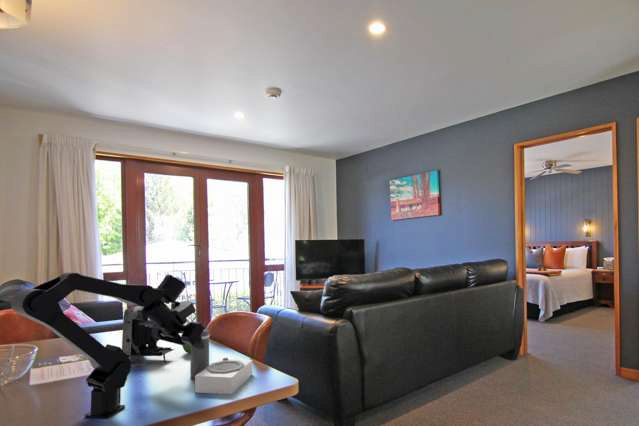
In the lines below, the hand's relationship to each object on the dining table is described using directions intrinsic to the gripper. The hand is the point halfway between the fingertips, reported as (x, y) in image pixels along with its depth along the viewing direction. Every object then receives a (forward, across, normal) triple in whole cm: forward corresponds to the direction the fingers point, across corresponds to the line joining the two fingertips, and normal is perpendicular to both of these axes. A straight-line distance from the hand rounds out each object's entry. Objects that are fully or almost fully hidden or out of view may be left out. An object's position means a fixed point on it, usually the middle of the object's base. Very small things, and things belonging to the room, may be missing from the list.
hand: (193, 345), depth 117 cm
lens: (+9, 0, +6) cm, 10 cm away
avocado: (+20, +24, -6) cm, 32 cm away
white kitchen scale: (+9, -11, +5) cm, 15 cm away
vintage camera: (+10, +30, +4) cm, 32 cm away
